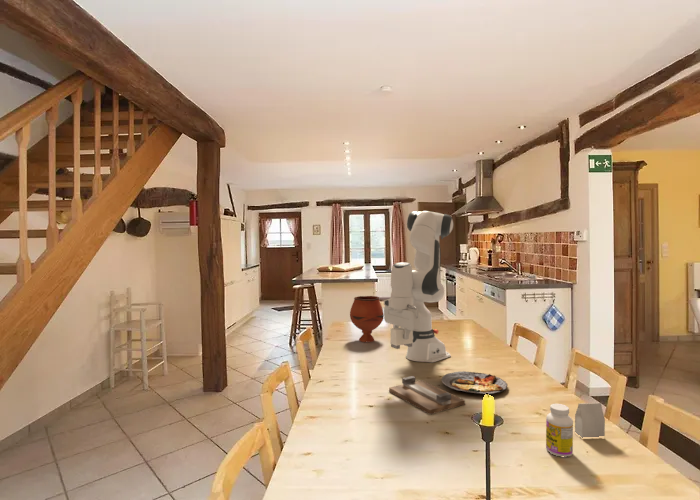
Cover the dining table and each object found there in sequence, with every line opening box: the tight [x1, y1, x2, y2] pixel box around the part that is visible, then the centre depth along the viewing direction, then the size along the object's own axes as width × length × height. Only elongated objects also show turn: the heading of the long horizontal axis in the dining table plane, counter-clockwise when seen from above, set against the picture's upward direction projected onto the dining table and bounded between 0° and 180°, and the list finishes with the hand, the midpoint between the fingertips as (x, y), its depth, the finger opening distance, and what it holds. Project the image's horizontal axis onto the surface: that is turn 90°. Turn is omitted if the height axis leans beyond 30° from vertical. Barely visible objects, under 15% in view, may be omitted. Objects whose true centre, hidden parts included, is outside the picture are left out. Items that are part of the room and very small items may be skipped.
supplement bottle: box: [545, 403, 574, 458], centre depth 115 cm, size 7×7×13 cm
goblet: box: [349, 295, 384, 343], centre depth 238 cm, size 19×19×25 cm
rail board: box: [388, 375, 466, 415], centre depth 155 cm, size 16×24×4 cm, turn 29°
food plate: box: [441, 370, 508, 395], centre depth 166 cm, size 25×23×4 cm
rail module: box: [390, 327, 413, 350], centre depth 166 cm, size 8×4×7 cm, turn 119°
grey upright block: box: [574, 402, 606, 438], centre depth 124 cm, size 4×7×10 cm, turn 92°
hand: (401, 337), depth 166 cm, fingers closed on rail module, 4 cm apart
